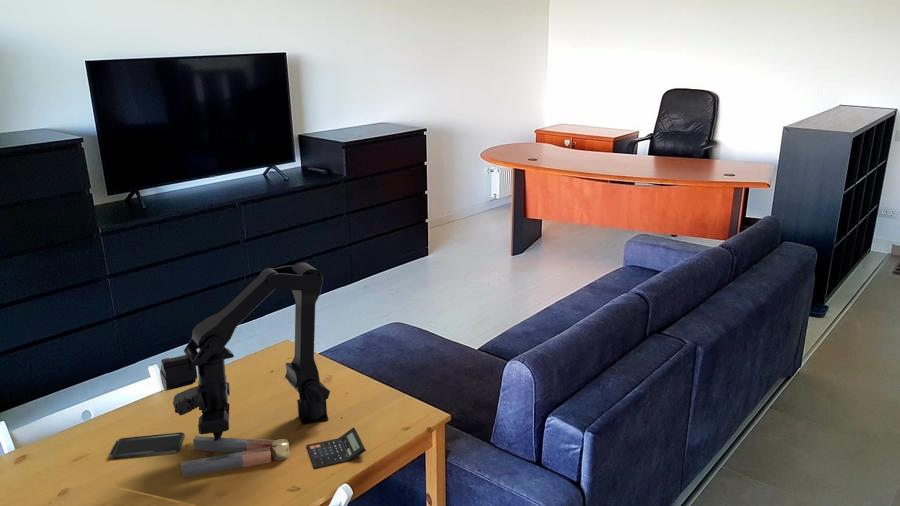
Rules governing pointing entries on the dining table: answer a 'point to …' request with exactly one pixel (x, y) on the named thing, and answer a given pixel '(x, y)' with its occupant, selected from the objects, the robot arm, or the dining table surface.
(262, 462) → the bar
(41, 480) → the dining table surface
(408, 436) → the dining table surface
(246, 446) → the arm
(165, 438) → the phone
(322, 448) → the calculator
